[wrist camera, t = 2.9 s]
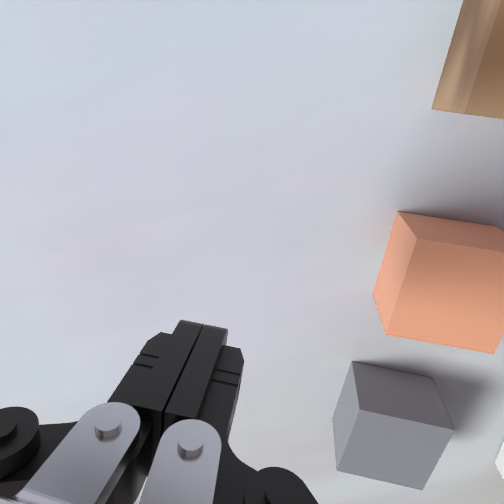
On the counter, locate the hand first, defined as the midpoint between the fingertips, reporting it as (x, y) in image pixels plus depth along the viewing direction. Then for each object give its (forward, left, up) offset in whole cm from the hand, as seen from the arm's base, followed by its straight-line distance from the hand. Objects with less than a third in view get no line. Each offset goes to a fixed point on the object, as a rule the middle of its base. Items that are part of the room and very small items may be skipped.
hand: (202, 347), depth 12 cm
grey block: (+10, +10, -10) cm, 17 cm away
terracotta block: (0, +10, -10) cm, 14 cm away
